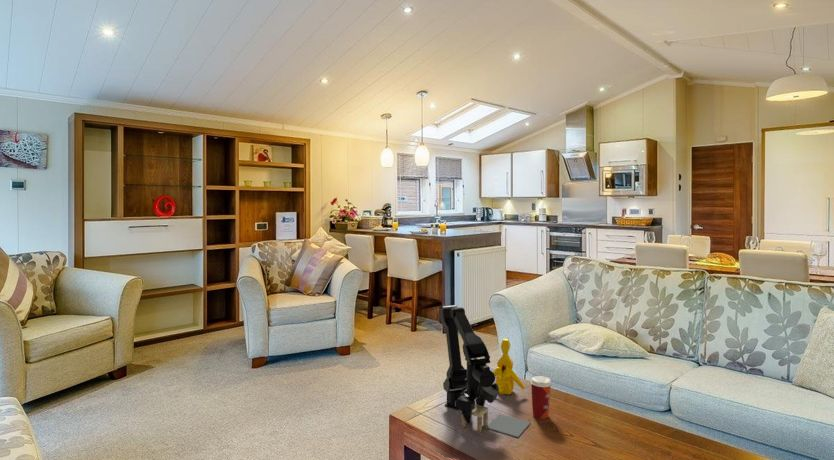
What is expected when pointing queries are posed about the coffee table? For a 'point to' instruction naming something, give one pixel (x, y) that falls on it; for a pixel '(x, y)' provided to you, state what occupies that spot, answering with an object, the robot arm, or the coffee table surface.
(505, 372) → the figure statuette
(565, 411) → the coffee table surface
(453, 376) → the robot arm
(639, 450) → the coffee table surface
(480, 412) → the stool
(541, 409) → the paper cup
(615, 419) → the coffee table surface
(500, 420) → the felt pad
